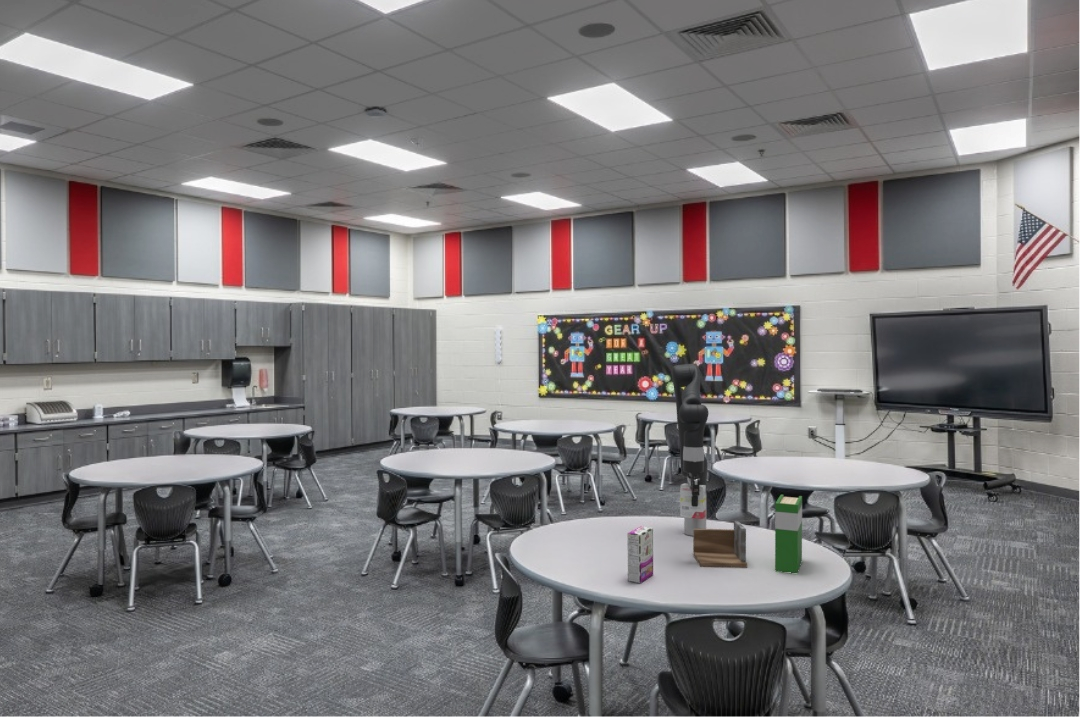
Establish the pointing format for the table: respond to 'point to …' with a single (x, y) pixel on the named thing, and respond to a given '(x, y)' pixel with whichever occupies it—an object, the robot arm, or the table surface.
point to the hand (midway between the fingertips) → (693, 504)
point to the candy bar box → (640, 554)
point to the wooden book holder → (720, 547)
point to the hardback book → (788, 534)
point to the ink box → (685, 502)
